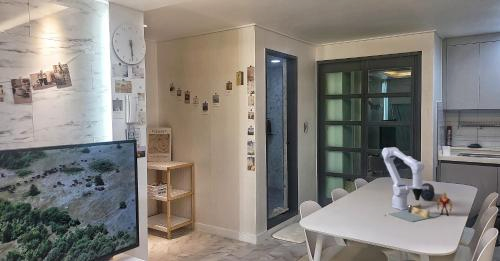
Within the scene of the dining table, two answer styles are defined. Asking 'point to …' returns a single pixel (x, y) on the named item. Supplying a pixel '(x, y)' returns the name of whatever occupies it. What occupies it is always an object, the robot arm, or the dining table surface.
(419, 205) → the fixed fence section
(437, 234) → the dining table surface
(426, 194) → the portable speaker
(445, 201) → the action figure
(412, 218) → the board
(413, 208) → the tan piece
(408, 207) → the hinge post
